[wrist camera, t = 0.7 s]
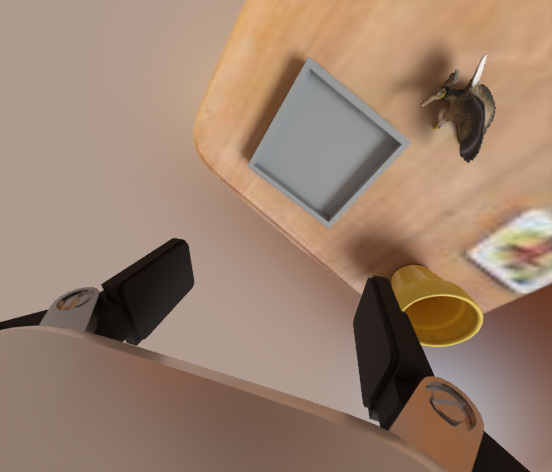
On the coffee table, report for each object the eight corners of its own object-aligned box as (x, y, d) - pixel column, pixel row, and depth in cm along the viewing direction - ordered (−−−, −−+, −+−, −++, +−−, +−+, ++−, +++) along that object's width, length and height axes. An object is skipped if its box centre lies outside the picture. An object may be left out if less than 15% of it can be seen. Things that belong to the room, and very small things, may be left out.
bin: (310, 64, 27) (308, 56, 24) (404, 142, 28) (411, 142, 25) (253, 164, 34) (247, 166, 32) (329, 222, 35) (329, 228, 33)
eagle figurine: (397, 127, 27) (448, 174, 26) (443, 80, 19) (514, 143, 19) (434, 90, 27) (484, 135, 27) (491, 32, 20) (561, 92, 20)
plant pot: (448, 297, 36) (485, 346, 28) (386, 304, 40) (402, 349, 31) (443, 249, 33) (483, 288, 24) (375, 262, 37) (389, 299, 28)
